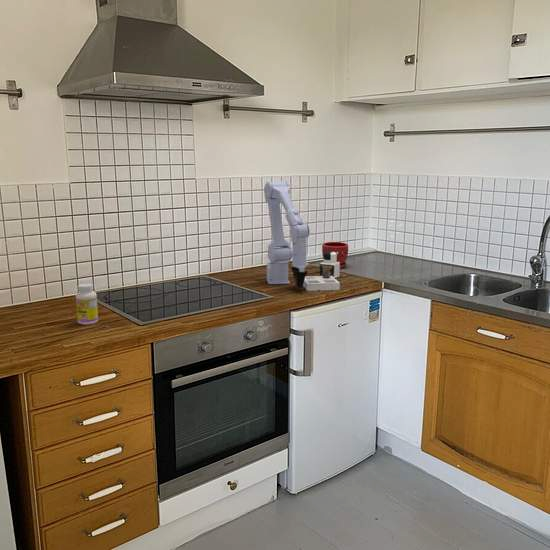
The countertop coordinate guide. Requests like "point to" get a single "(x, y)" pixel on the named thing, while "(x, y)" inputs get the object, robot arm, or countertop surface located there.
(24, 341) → the countertop surface
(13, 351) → the countertop surface
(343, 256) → the plant pot
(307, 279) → the pin board
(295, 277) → the walnut pin
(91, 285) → the supplement bottle
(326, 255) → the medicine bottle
